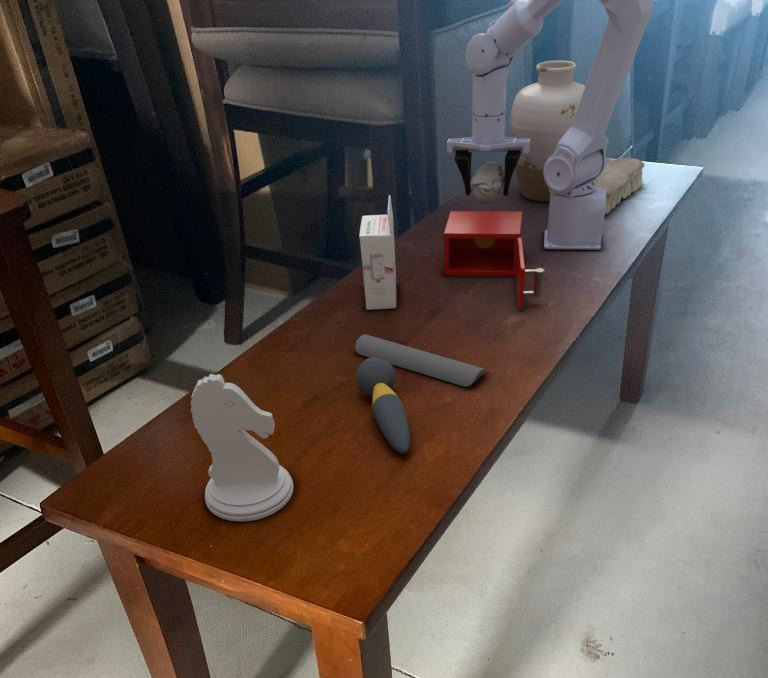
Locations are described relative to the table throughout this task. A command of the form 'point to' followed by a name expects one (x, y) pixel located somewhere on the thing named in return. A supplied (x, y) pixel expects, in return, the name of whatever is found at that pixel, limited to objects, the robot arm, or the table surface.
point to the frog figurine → (487, 182)
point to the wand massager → (385, 401)
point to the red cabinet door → (521, 275)
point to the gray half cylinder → (419, 360)
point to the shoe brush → (620, 180)
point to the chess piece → (238, 453)
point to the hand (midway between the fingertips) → (486, 193)
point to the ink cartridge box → (378, 260)
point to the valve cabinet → (482, 243)
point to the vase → (543, 122)
